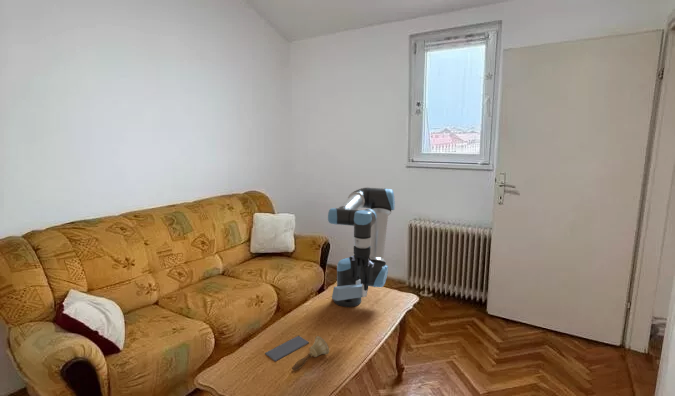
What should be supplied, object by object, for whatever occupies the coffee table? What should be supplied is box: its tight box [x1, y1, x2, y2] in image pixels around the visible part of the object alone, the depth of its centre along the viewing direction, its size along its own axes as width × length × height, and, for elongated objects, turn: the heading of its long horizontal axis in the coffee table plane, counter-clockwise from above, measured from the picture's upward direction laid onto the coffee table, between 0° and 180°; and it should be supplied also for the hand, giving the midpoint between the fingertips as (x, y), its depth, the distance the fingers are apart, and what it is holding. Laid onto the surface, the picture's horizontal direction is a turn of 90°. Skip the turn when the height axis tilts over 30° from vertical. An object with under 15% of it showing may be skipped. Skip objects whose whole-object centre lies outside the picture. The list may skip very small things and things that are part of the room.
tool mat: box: [264, 335, 310, 362], centre depth 158 cm, size 18×7×1 cm, turn 135°
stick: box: [331, 284, 369, 301], centre depth 162 cm, size 20×3×5 cm, turn 136°
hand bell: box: [291, 335, 330, 371], centre depth 149 cm, size 8×8×16 cm
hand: (361, 294), depth 168 cm, fingers closed on stick, 3 cm apart
